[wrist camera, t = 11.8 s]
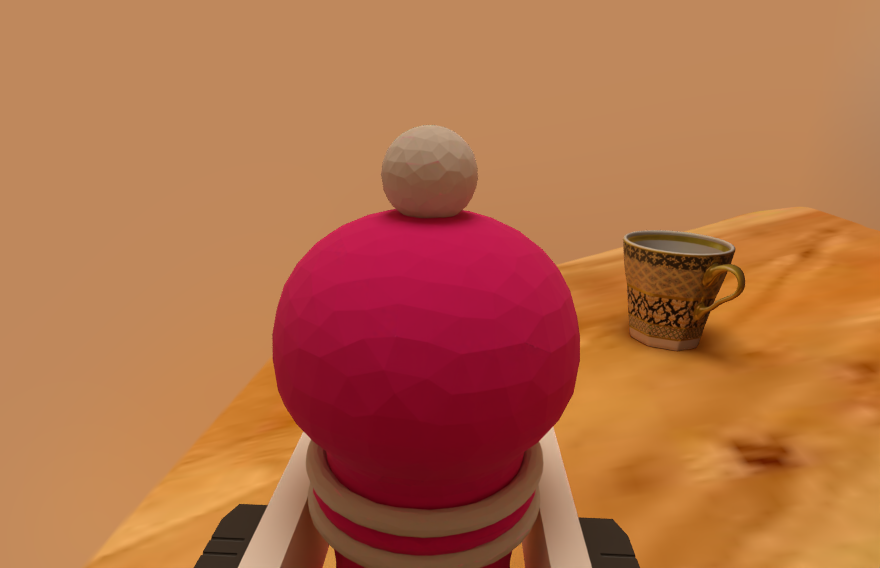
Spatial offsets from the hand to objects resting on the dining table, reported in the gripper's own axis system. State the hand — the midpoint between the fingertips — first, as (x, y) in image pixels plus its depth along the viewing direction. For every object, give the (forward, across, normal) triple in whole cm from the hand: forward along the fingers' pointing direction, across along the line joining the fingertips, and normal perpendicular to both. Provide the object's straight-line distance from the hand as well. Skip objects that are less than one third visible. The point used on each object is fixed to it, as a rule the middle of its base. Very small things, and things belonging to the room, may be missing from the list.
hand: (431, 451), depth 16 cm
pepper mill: (-3, 0, -11) cm, 12 cm away
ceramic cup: (+39, +22, -13) cm, 47 cm away
